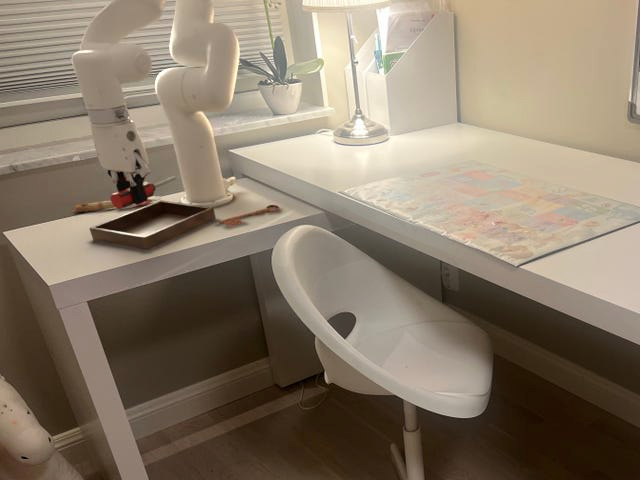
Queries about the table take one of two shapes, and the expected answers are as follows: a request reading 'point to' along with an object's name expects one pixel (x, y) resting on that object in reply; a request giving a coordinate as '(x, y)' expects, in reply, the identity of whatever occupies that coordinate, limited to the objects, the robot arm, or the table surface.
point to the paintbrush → (110, 205)
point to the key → (237, 218)
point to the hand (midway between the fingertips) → (134, 200)
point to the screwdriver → (125, 196)
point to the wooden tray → (152, 224)
